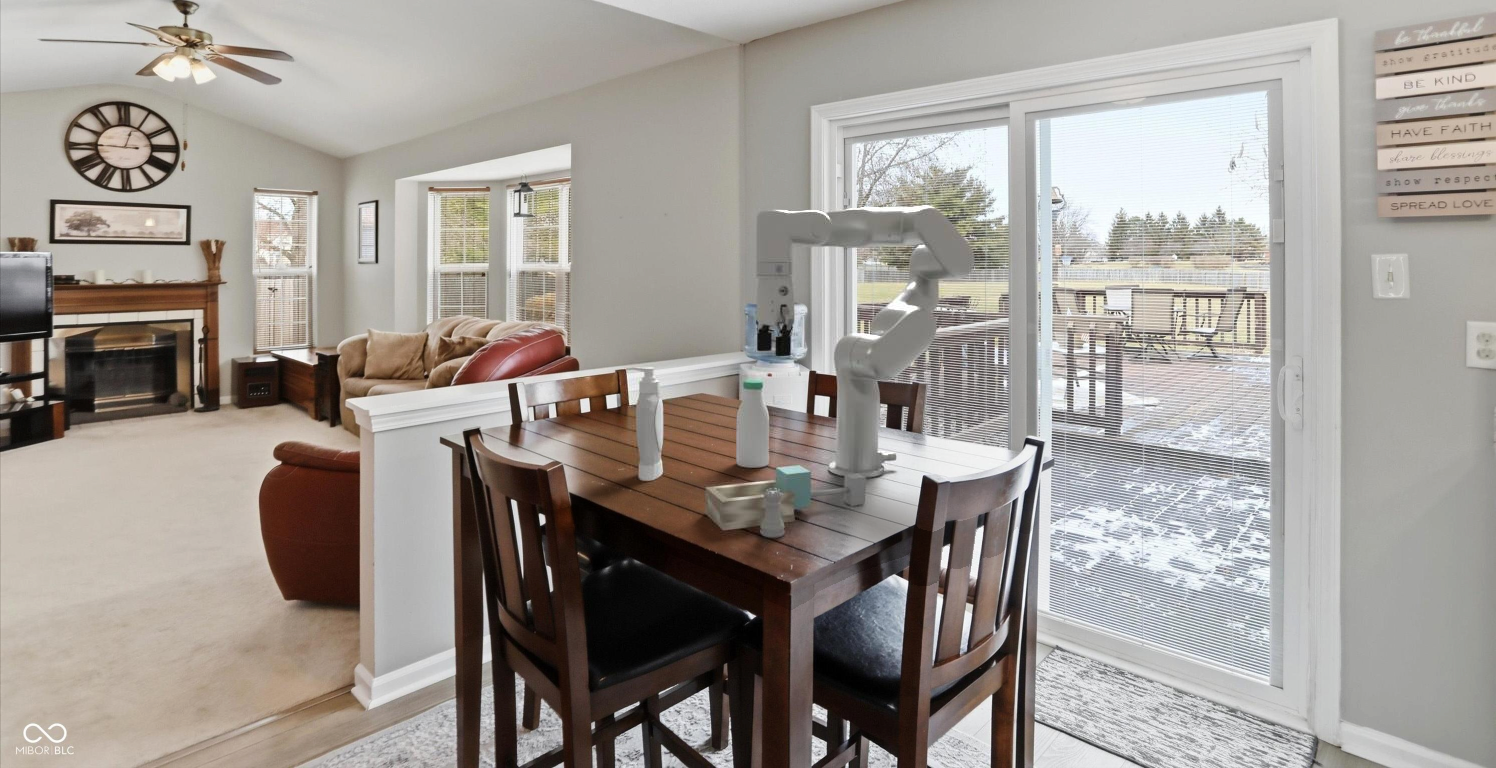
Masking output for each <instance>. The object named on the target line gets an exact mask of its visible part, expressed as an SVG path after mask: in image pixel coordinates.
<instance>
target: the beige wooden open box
mask: <svg viewBox="0 0 1496 768" xmlns="http://www.w3.org/2000/svg"><path fill="white" fill-rule="evenodd" d="M769 488H772V491H774V488H776V480H774V479H770V480H761V481H755V482H754V481H752V482H744V483H743V482H741V483H735V484H726V485H725V484H724V485H718V486H715V485H714V486H707V487H705V507H704V511H705V515H706V516H707V517H708V518H709V519H711V520H712V522H714V523H715V525H717V526H718V527H719V528H720V529H721V530H722V531H729V530H737V529H738V530H739V529H745V528H752V527H760V525H761V523H762V522H763V519H764V517H765V511H766V505H765V502H766V499H765V497H764V494H765V493H766V489H768V491H769ZM781 494H782V497H781V498H780V500H779V502H780V503H781V505H780V508H779V510H780V517H781V520H782V522H783V523H789V522H795V510H794V493H793V492H791V491H789V492H781Z"/></svg>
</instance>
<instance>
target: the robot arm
mask: <svg viewBox="0 0 1496 768" xmlns="http://www.w3.org/2000/svg"><path fill="white" fill-rule="evenodd" d="M755 225H756V226H755V227H756V229H755V230H756V234H755V236H756V239H755V240H756V242H755V243H756V245H755V246H756V248H755V251H756V252H755V253H756V254H755V260H756V261H755V278H756V279H758V280H757V288H756V307H755V308H756V309H755V312H754V313H755V319H756V320H755V324H756V328H755V329H756V330H755V331H756V351H758V352H770V351H772V344H773V343H772V342H773V341H772V340H773V339H772V338H773V337H772V336H773V334H772V333H773V332H771V329H772V328H773V327H774V329H775V331H776V335H777V336H775V345H774V346H775V350H774V351H775V352H774V353H775V354H774V355H775V357H790V356H791V353H792V352H791V351H792V346H791V345H792V335H793V332H792V331H793V328H794V324H795V322H796V321H795V317H796V316H795V295H794V294H795V292H794V284H793V253H794V252H793V251H794V250H793V248H814V247H815V248H816V247H817V248H818V247H820V248H821V247H822V248H823V247H837V248H849V249H850V248H851V249H853V248H855V249H857V248H861V249H862V248H885V247H887V248H888V247H890V248H891V247H912V246H913V247H914V246H915V248H914V249H913V251H912V253H911V255H910V257H909V263H908V264H909V266H908V267H909V268H908V269H909V270H908V271H909V273H908V274H909V275H908V282H907V285H906V286H905V288H903V289H902V291H901V292H900V293H898V295H897V296H896V297H894V298H893V299H892V300H891V301H890V302H888V304H887V305H885V306H884V307H883V308H882V309H881V310H880V311H878V312H877V313H876V314H875V315H874V317H873V319H872V321H871V324H870V333H871V334H869V333H863V332H852V333H849V334H846V335H844V336H843V337H841V338H840V339H839V341H838V342H837V344H836V345H835V348H834V353H833V361H834V363H833V364H834V368H835V373H836V386H837V388H836V389H837V390H836V391H837V394H836V395H837V397H836V399H837V400H836V433H835V435H836V436H835V460H833V461H832V462H830V463H829V464H828V471H829V472H831V473H832V474H834V475H837V476H842V477H845V475H847V474H856V473H858V474H860V475H862V476H864V477H866V478H874V477H879V476H881V475H882V474H884V472H885V466H884V465H883V464H884V463H885V462H891V461H893V462H894V461H896V460H897V453H896V452H887V453H886V452H885V451H880V450H879V429H880V428H879V423H880V403H881V401H880V400H881V398H880V397H881V396H880V395H881V394H880V388H879V384H878V381H879V382H880V381H881V382H885V381H891V380H892V379H895V378H896V377H897V376H899V375H901V373H902V372H903V371H905V370H906V369H907V368H908V367H909V366H911V364H913V363H914V361H916V360H917V359H918V358H919V357H920V356H921V355H922V354H923V353H924V352H925V351H926V350H927V349H928V348H929V347H930V346H931V345H932V343H933V342H934V340H935V338H936V334H937V330H938V329H937V326H938V325H937V321H936V318H935V316H934V314H933V313H934V311H935V310H936V309H937V307H938V304H939V300H940V299H939V298H940V297H939V295H940V292H939V291H940V290H939V280H945V281H946V280H947V281H948V280H950V281H956V280H962V279H964V278H966V277H967V276H969V275H970V274H971V273H972V271H973V269H974V267H975V266H974V265H975V262H976V261H975V254H974V251H973V249H972V248H973V247H971V245H970V243H969V242H968V241H967V239H965V237H964V236H963V235H962V234H961V233H960V231H959V230H958V229H957V228H956V227H955V226H954V224H953V223H952V222H951V221H950V220H949V219H948V218H947V217H946V215H944V213H942V212H941V211H940V210H938V208H936V207H933V206H930V205H922V206H912V207H910V206H909V207H860V208H859V207H858V208H848V209H843V210H835V211H823V212H822V211H819V210H816V209H815V210H814V209H808V210H801V211H800V210H799V211H788V210H783V209H767V210H766V209H765V210H761V211H760V212H758V213H757V215H756V224H755ZM916 246H917V247H916Z"/></svg>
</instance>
